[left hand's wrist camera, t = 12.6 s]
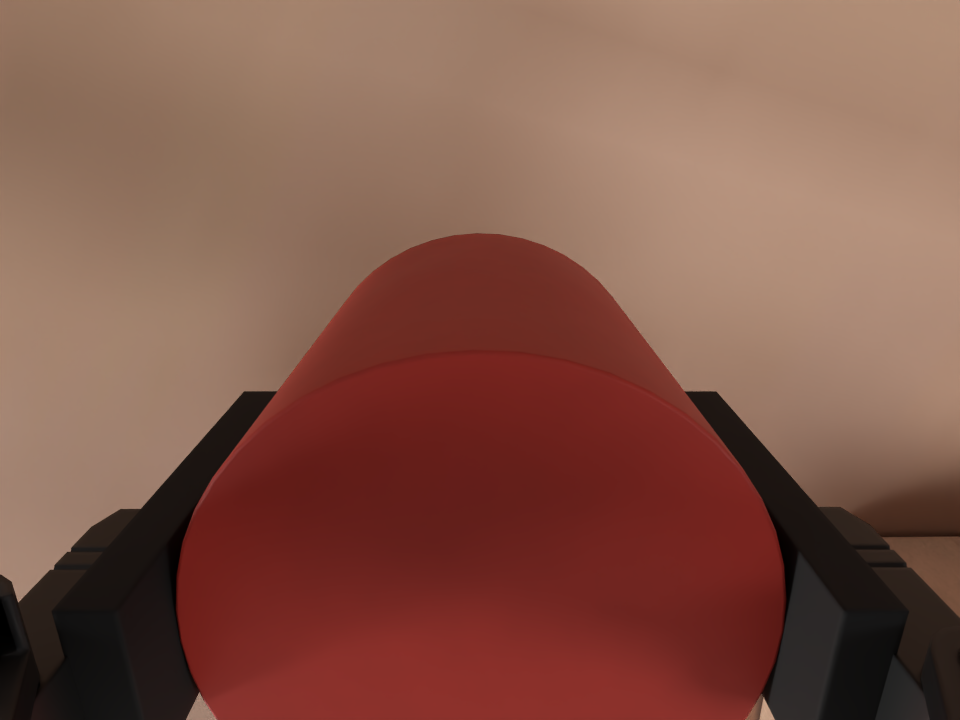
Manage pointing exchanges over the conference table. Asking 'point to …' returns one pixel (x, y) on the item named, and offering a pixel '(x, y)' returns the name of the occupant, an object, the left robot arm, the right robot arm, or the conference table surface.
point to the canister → (480, 517)
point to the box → (924, 571)
